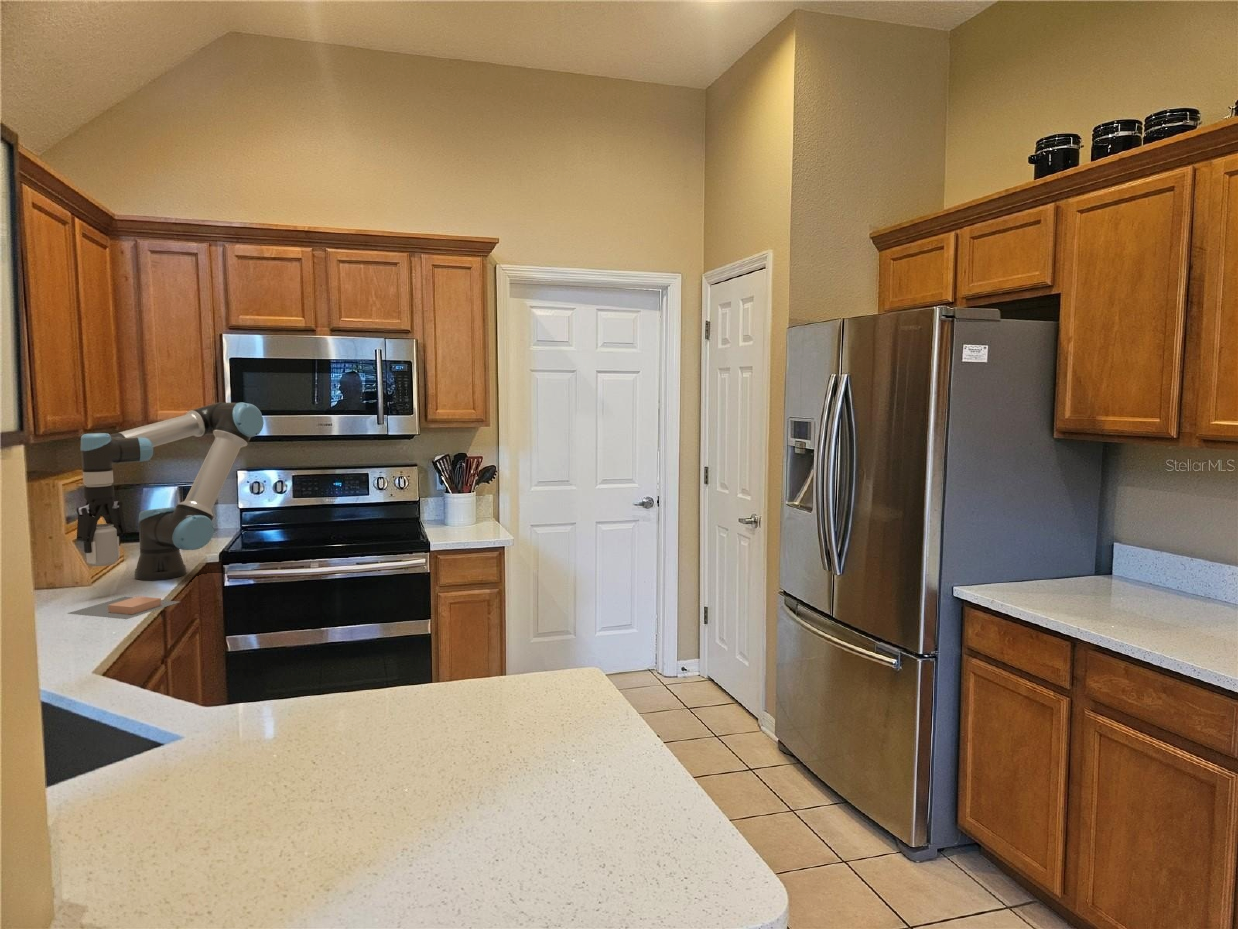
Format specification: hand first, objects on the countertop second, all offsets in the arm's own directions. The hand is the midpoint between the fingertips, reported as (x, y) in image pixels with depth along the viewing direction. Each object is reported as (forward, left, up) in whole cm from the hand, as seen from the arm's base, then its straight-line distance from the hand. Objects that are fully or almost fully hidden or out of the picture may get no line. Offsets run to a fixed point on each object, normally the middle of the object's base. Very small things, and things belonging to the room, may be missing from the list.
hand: (103, 560), depth 234 cm
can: (0, 0, -1) cm, 1 cm away
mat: (+9, +17, -11) cm, 22 cm away
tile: (+5, +21, -10) cm, 24 cm away
